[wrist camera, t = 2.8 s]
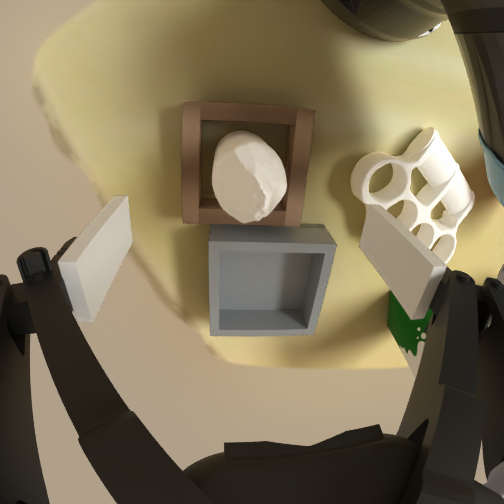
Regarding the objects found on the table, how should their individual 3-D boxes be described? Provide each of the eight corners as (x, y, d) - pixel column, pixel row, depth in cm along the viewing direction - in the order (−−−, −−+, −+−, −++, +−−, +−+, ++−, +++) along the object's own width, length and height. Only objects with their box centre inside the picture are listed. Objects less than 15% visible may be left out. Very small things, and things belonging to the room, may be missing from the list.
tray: (210, 220, 31) (208, 241, 27) (323, 224, 32) (336, 244, 28) (211, 310, 37) (210, 335, 33) (305, 309, 38) (313, 334, 34)
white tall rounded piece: (193, 166, 16) (291, 143, 16) (207, 137, 26) (266, 123, 26) (220, 257, 19) (307, 237, 19) (222, 194, 29) (278, 182, 29)
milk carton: (435, 269, 37) (516, 372, 19) (428, 314, 41) (488, 411, 24) (383, 286, 37) (456, 409, 20) (381, 331, 42) (433, 442, 24)
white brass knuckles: (473, 205, 32) (406, 279, 37) (407, 103, 26) (321, 199, 31) (488, 215, 29) (417, 293, 34) (424, 106, 23) (331, 211, 28)
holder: (187, 101, 24) (182, 102, 22) (306, 108, 25) (314, 110, 23) (186, 211, 30) (182, 223, 27) (293, 214, 31) (299, 226, 28)
